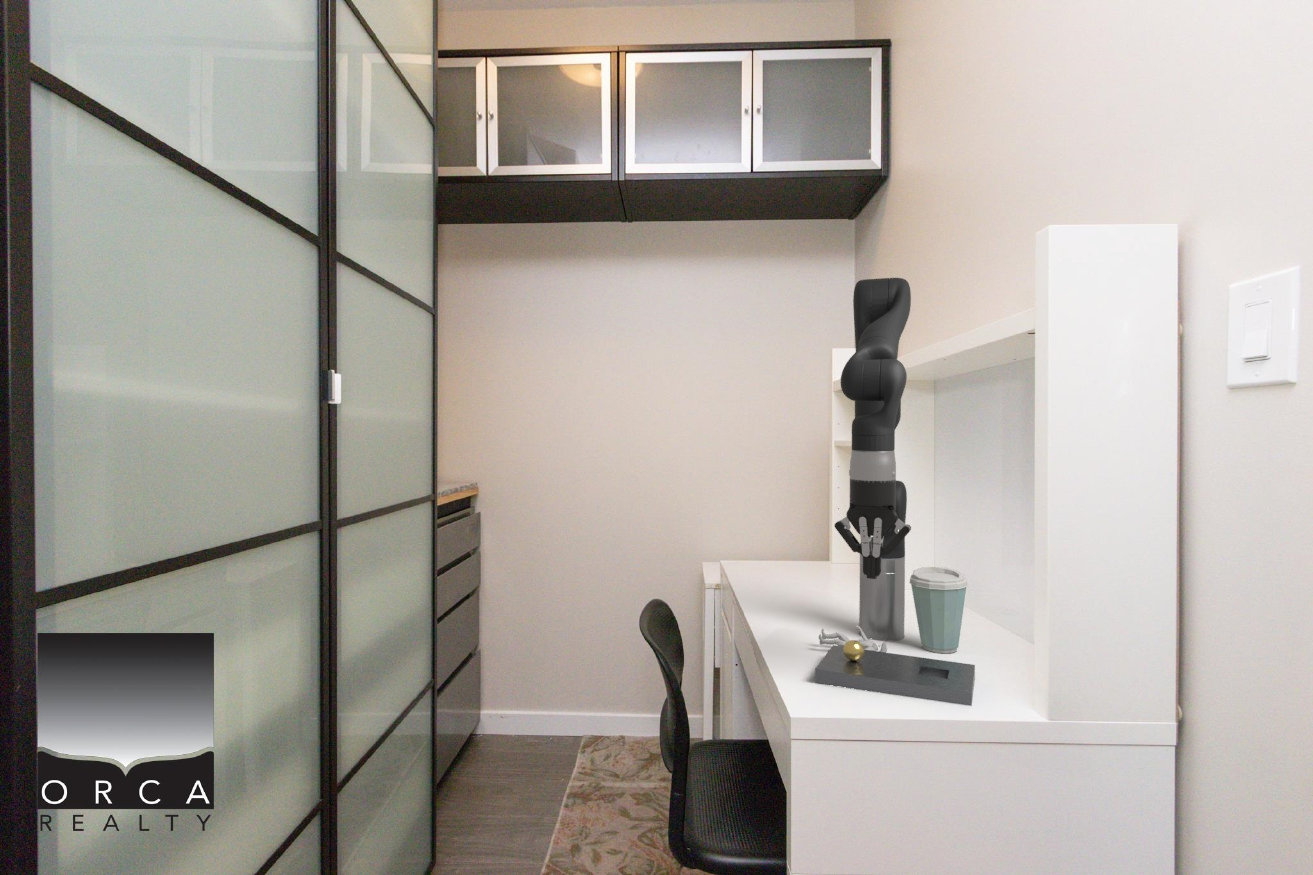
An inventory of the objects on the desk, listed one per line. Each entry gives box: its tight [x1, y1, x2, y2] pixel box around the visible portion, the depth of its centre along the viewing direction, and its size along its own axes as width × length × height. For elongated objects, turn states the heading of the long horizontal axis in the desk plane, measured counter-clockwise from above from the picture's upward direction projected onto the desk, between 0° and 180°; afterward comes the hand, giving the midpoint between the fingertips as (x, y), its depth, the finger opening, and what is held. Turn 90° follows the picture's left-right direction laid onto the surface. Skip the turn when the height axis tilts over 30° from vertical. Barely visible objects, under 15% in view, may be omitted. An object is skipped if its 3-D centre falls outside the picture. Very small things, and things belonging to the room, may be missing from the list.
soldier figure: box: [818, 624, 888, 653], centre depth 135 cm, size 8×5×12 cm
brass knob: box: [843, 639, 864, 661], centre depth 122 cm, size 4×4×4 cm
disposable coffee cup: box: [909, 566, 969, 654], centre depth 137 cm, size 11×11×15 cm
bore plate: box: [814, 644, 976, 707], centre depth 119 cm, size 14×24×2 cm, turn 64°
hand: (871, 577), depth 121 cm, fingers closed
